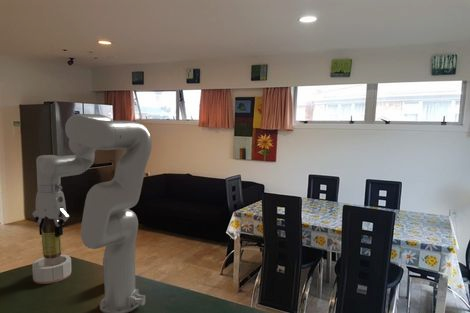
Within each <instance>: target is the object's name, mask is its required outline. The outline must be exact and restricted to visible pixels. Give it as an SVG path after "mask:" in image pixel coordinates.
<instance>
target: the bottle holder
mask: <svg viewBox="0 0 470 313" xmlns="http://www.w3.org/2000/svg"><path fill="white" fill-rule="evenodd" d="M31 264H32V280H33V282H34V283H35V284H38V285H39V284H40V285H49V284H55V283H59V282H61V281H64V280H65V279H68V278H70V276H71V275H72V258H71V256H70V255H68V254H63V253H61V255H60V256H59V257H56V258H52V259H47V258H44V256H43V257H40V258H37V259H36V260H34V261H33V263H31Z"/></svg>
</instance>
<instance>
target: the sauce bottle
mask: <svg viewBox="0 0 470 313" xmlns="http://www.w3.org/2000/svg"><path fill="white" fill-rule="evenodd" d="M45 211H46V209H45ZM58 222H59V219H58ZM55 227H56V224H55V222H54V219H49V218H48V217H46V216H45V218H44V220H43V224H42V227H41V232H42V235H41V243H42V244H41V245H42V254H43V257H44V258H47V259H52V258H56V257H59V256H60V255H61V254H62V250H63V248H62V247H63V246H62V235H61V236H58V237H55Z"/></svg>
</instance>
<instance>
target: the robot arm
mask: <svg viewBox="0 0 470 313" xmlns="http://www.w3.org/2000/svg"><path fill="white" fill-rule="evenodd" d="M64 126H65V127H64V131H65V134H66V137H67V138H68V139H69V141H68V147H69V149H70V151H71V152H72V153H73V154H71V155H60V156H59V155H55V154H47V155H46V154H44V155H43V154H42V155H39V156H37V157H36V164H35V165H36V181H37V182H36V185H37V192H36V195H35V196H36V197H35V210H33V212H32V213H31V214H32V216H33V218H34V219H35V221H36V222H37V225H38V229H39V236H42V232H41V227H42V224H43V220H44V218H45V216H46V217H48V218H49V219H54V222H55V224H56V227H55V237H58V236H61V237H62V236H63V235H64V228H63V225H65V223H66V222H67V221H68V219H69V218H70V215H69V213H67V206H66V200H65V199H66V198H65V195H64V192H63V186H62V185H61V184H62V183H61V181H62V180H61V178H64V177H70V176H77V175H78V176H79V175H81V174H83V173H85V172H86V171H87V170H89V169H90V167H92V165H94V161H95V156H96V154H95V152H96V151H97V150H99V151H101V150H102V151H111V150H125V151H124V153H123V154H122V155H121V156H120V158H119V159H118V162H117V163H116V166H115V172H114V176H113V178H112V179H111V180H109V181H104V182H99V183H96V184H94V185H93V186H91V188H89V190H88V191H87V194H86V198H85V201H84V207H83V213H82V219H81V220H82V221H81V226H80V237H81V241H82V243H83V245H84V246H85V247H87V248H88V249H91V250H96V249H97V250H99V249H101V248H105V249H104V252H103V258H104V280H103V286H104V297H103V298H102V299H101V301H99V310H100V311H101V312H102V313H129V312H133V311H134V310H135V309H137V308H138V307H139V306H145V304H146V294H140V292H139V288H136V241H137V235H138V230H139V219H138V216H137V214H136V213H135V212H134V211H133V210H131V208H133V207H135V206H136V205H137V204H138V202H139V200H140V196H141V192H142V187H143V182H144V178H145V172H146V168H147V164H148V162H149V160H150V156H151V152H152V147H153V143H152V142H153V140H152V136H151V134H150V132H149V130H148V128H147V127H146V126H145V125H144V124H142V123H140V122H138V121H134V120H112V119H111V118H110V117H109V116H107V115H105V114H97V113H96V114H95V113H75V114H73V115H71V116H70V117H69V118H68V119H67V121H66V122H65V125H64ZM45 209H46V211H45ZM58 220H59V222H58Z"/></svg>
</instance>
